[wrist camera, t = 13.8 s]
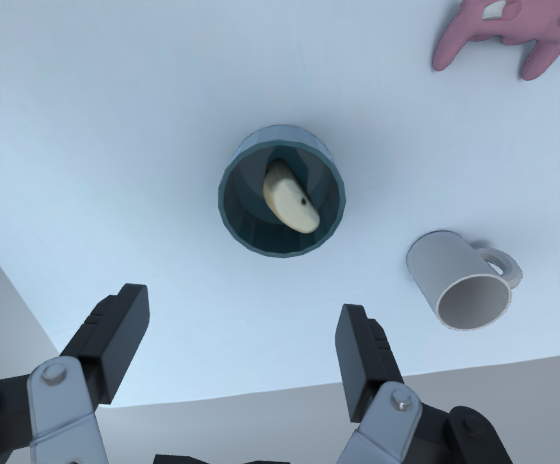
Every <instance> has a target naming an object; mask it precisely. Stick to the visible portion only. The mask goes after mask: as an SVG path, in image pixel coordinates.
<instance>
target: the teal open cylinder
mask: <svg viewBox="0 0 560 464" xmlns="http://www.w3.org/2000/svg"><path fill="white" fill-rule="evenodd" d="M276 159H283V160H284V161H286V162H287V164H288V165H289V167H290V168H291V169H292V171H293V172H294V173H295V175H296V176H297V178H298V179H299V180H300V182H301V183H302V184H303V185H304V186H305V189H306V191H307V192H308V194H309V195H310V197H311V200H312V201H313V203H314V205H315V207H316V208H317V210H318V213H319V216H320V223H319V226H318V228H317V229H316V230H315V231H313V232H311V233H302V232H299V231H297V230H295V229H292V228H291V227H289V226H288V225H286V224H285V223H283V222H282V221H281V220H280V219H279V218H278V217H277V216H276V215H275V214H274V213H273V211H272V210H271V209H270V208H269V207H268V205H267V203H266V201H265V198H264V196H263V192H262V187H263V182H264V179H265V177H266V175H267V173H268V166H269V165H270V163H271V162H272V161H274V160H276ZM345 203H346V198H345V190H344V183H343V180H342V178H341V176H340V174H339V172H338V170H337V168H336V166H335V164H334V162H333V160H332V158H331V156H330V154H329V152H328V150H327V148H326V146H325V145H324V144H323V143H322V142H321V141H320V140H319V139H318V138H317V137H316V136H314V135H313V134H311V133H310V132H308V131H306V130H304V129H302V128H299V127H296V126H290V125H273V126H269V127H265V128H263V129H260V130H258V131H256V132H254V133H253V134H251V135H250V136H249V137H247V138H246V139H245V140H244V141H243V142H242V143H241V145H240V146H239V147H238V149H237V150H236V151H235V153H234V154H233V156H232V158H231V160H230V162H229V164H228V166H227V168H226V169H225V172H224V174H223V177H222V180H221V182H220V185H219V188H218V208H219V211H220V214H221V217H222V220H223V223H224V225H225V227H226V228H227V229H228V231H229V232H230V233H231V235H232V236H233V238H234V239H235V240H237V241H238V242H239V243H241V244H242V245H243V246H245V247H246V248H247V249H249V250H251V251H253V252H256V253H259V254H261V255H264V256H268V257H278V258H288V257H294V256H300V255H304V254H306V253H308V252H310V251H312V250H314V249H316V248H318V247H320V246H321V245H322V244H323V243H324V242H325V241H326V240H328V239H329V238H330V237H331V236H332V235H333V234H334V232H335V230H336V229H337V227H338V225H339V224H340V222H341V220H342V217H343V212H344V208H345Z"/></svg>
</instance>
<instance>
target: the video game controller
mask: <svg viewBox="0 0 560 464" xmlns="http://www.w3.org/2000/svg"><path fill="white" fill-rule="evenodd" d="M494 35H502V42H503V43H504V44H506V45H517V44H521V43H524V42H527V41H529V40H532V39H538V40H537V42H536V45H535V46H534V48H533V50H532V51H531V53H530V54H529V56H528V58H527V60H526V62H525V64H524V66H523V69H522V73H521V76H522V78H523V80H525V81H529V80H533V79H535V78H537V77H539V76H540V75H541V74H542V73H543V72H545V70H546V69H547V68H548V67H549V66H550V65H551V64H552V63H553V62H554V60H555V59H556V58H557V57H558V56H559V55H560V0H463V1H462V2H461V4H460V8H459V11H458V13H457V14H456V15H455V17H454V18H453V20H452V21H451V23H450V24H449V26H448V28H447V29H446V31H445V32H444V34H443V36H442V38H441V40H440V42H439V44H438V47H437V49H436V52H435V55H434V59H433V66H434V69H435V70H436V71H442V70H444V69H445V68H446V67H447V66H448V65H450V64H451V62H452V61H453V59H454V58H455V56H456V55H457V54H458V52H459V51H460V49H461V48H462V47H463V46H464V44H465V43H466V42H467V41H468V40H470V41H483V40H487V39H490V38H491V37H493V36H494Z"/></svg>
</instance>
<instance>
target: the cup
mask: <svg viewBox="0 0 560 464" xmlns="http://www.w3.org/2000/svg"><path fill="white" fill-rule="evenodd" d="M487 262H490V263H492V264H495V265H496V266H498V267H499V268H500V269H501V270H502V271H503V273H504V274H502V275H500V274H499V273H498V272H496V271H495V270H494V269H493V268H492V267H491V266H490V265H489V264H488V263H487ZM407 266H408V268H409V271H410V273H411V275H412V277H413V278H414V280H415V282H416V283H417V285H418V287H419V288H420V290H421V292H422V293H423V295H424V297H425V299H426V300H427V302H428V304H429V305H430V307H431V309H432V310H433V312H434V314H435V315H436V317H437V319H438V320H439V321H440V322H441V323H442V325H444V326H446V327H447V328H449V329H453V330H457V331H470V330H476V329H479V328H483V327H485V326H487V325H489V324H491V323H493V322H495V321H496V320H497V319H498V318H500V317H501V316H502V315H503V314H504V313H505V311H506V310H507V309H508V307H509V305H510V303H511V298H512V292H511V289H513V288H515V287H516V286H518V284H519V283H520V281H521V279H522V278H523V274H522V270H521V269H520V267H519V266H518V264H517V263H516V261H515V260H514V259H513V258H511V257H510V256H509V255H507V254H506V253H504V252H502V251H499V250H497V249H493V248H475V249H473V248H472V247H471V246H470V245H469V244H468V243H467V242H466V241H465V240H464V239H463V238H462V237H460V236H459V235H457V234H455V233H452V232H445V231H440V232H434V233H430V234H428V235H425V236H424V237H422V238H421V239H419V240H418V241H417V242H416V243H415V244H414V245H413V246H412V248H411V250H410V251H409V254H408V258H407Z"/></svg>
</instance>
